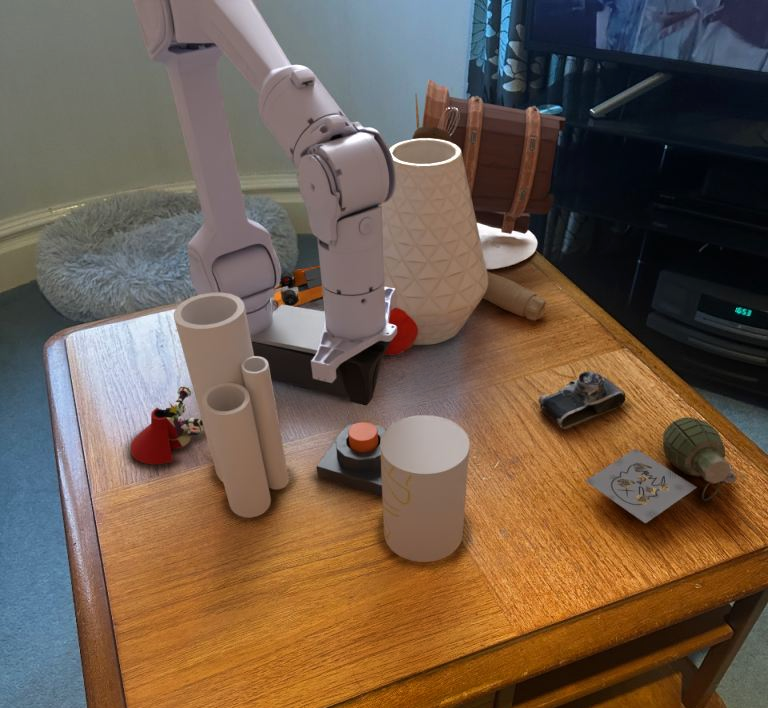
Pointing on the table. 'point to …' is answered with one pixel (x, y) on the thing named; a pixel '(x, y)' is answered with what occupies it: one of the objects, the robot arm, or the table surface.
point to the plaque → (505, 246)
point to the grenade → (697, 451)
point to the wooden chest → (499, 155)
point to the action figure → (165, 432)
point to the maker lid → (293, 329)
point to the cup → (424, 486)
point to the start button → (363, 437)
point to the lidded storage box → (296, 369)
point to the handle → (514, 297)
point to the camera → (582, 400)
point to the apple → (401, 332)
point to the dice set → (640, 485)
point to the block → (353, 464)
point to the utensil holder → (432, 129)
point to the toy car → (299, 287)
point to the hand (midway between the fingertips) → (361, 400)
